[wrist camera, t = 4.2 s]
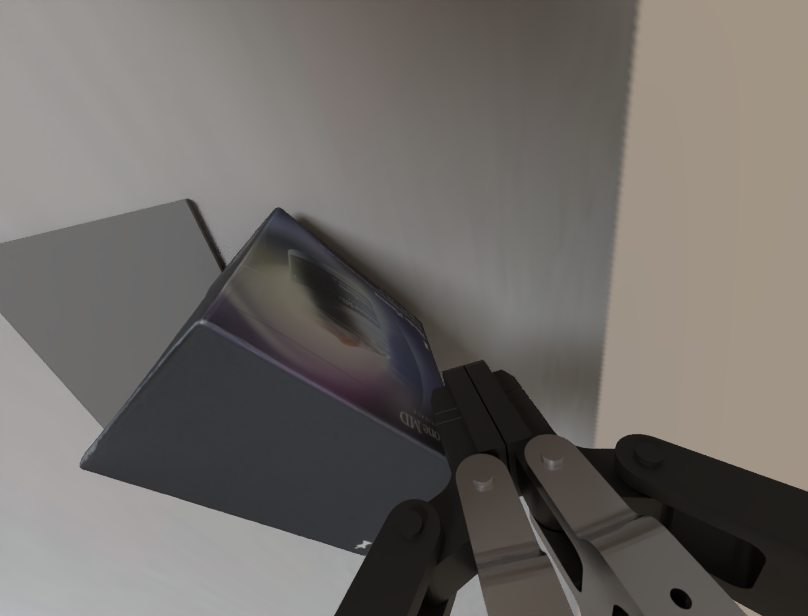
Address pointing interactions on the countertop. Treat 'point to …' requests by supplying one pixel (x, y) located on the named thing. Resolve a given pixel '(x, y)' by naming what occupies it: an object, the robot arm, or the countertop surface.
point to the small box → (287, 399)
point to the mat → (107, 297)
